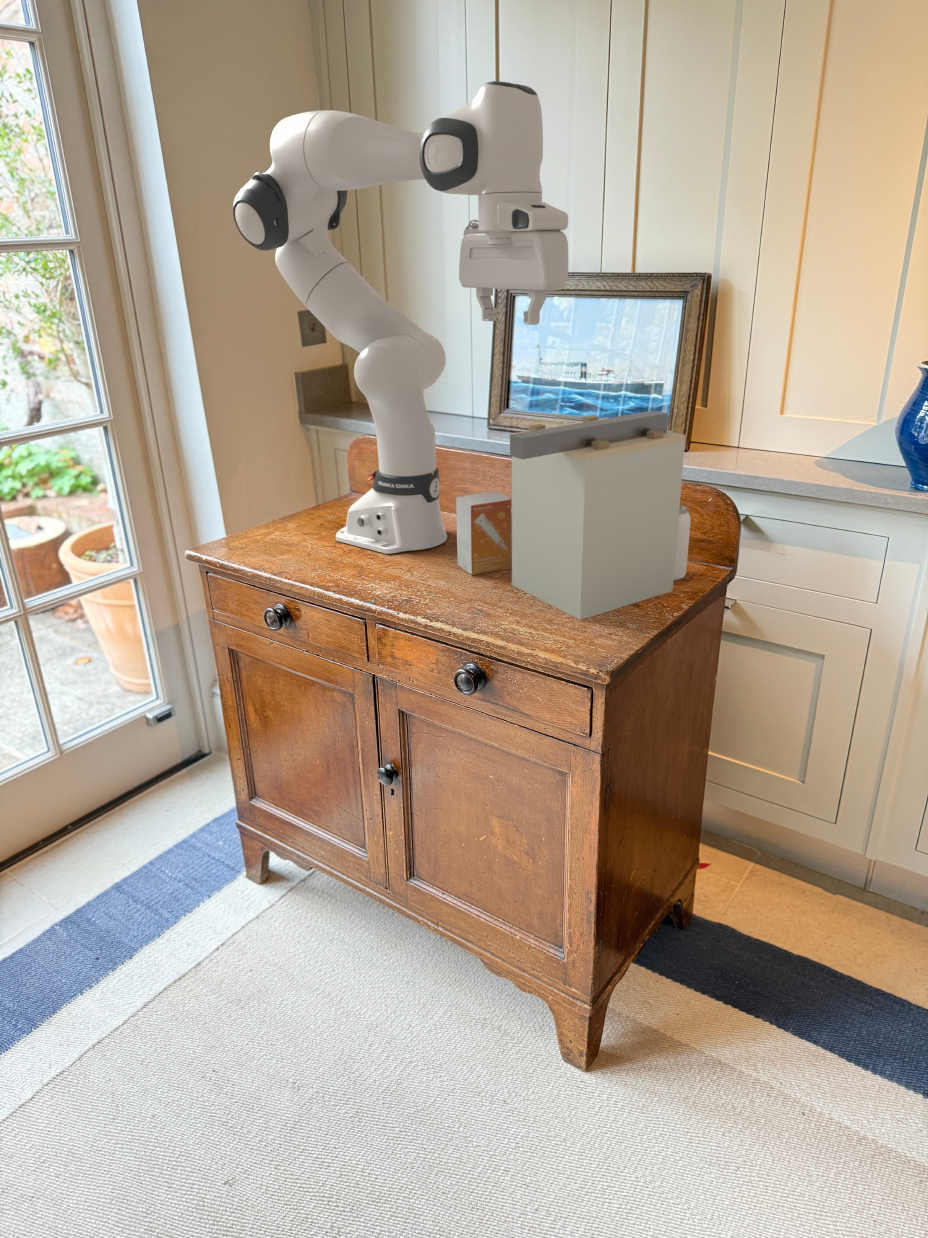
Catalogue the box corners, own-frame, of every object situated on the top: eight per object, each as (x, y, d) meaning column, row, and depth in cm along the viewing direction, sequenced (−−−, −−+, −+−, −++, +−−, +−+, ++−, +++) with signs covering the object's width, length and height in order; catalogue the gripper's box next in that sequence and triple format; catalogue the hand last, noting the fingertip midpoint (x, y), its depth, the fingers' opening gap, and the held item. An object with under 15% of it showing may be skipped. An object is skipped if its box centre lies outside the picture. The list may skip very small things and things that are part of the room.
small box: (471, 576, 149) (470, 505, 144) (457, 565, 154) (454, 496, 149) (512, 568, 152) (512, 498, 147) (496, 558, 157) (495, 489, 152)
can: (688, 571, 149) (694, 505, 144) (681, 583, 144) (687, 516, 139) (652, 566, 151) (656, 501, 146) (643, 579, 146) (648, 512, 141)
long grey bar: (522, 459, 118) (522, 437, 117) (509, 455, 121) (509, 434, 119) (666, 432, 132) (668, 413, 131) (653, 429, 134) (654, 410, 133)
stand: (580, 620, 131) (586, 446, 120) (511, 585, 145) (511, 427, 134) (672, 591, 141) (686, 428, 130) (600, 560, 155) (607, 411, 144)
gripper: (447, 220, 123) (450, 320, 129) (542, 214, 108) (540, 328, 114) (481, 220, 127) (482, 317, 132) (577, 214, 112) (574, 324, 117)
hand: (510, 322), depth 123 cm, fingers open, 8 cm apart
